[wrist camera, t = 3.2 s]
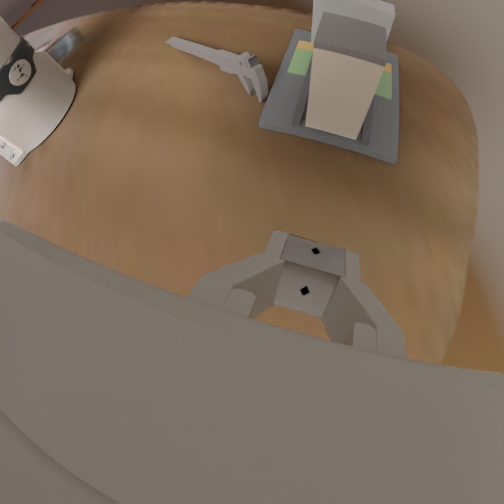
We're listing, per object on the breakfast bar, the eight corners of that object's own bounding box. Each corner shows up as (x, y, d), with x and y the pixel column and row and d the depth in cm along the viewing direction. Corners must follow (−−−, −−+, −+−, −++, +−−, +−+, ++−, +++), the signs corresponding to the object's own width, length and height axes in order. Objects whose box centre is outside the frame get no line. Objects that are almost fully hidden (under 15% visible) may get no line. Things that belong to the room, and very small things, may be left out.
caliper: (269, 100, 27) (266, 59, 21) (262, 105, 27) (257, 64, 21) (171, 40, 31) (159, 10, 25) (165, 44, 31) (152, 14, 25)
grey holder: (259, 127, 26) (250, 64, 18) (295, 33, 29) (296, -18, 20) (393, 164, 25) (431, 113, 16) (395, 59, 27) (413, 12, 18)
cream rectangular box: (304, 126, 25) (312, 41, 14) (313, 91, 25) (322, 11, 15) (355, 140, 24) (386, 61, 14) (360, 104, 25) (385, 27, 14)
